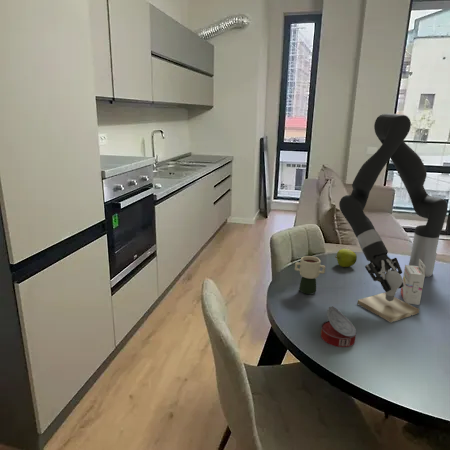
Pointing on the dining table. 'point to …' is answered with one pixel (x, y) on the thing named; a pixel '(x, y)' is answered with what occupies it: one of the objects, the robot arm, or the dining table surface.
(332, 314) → the canned food
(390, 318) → the birch board
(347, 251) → the apple
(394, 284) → the lightbulb
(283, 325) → the dining table surface
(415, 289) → the ink cartridge box
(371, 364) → the dining table surface
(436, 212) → the robot arm
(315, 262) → the character mug
